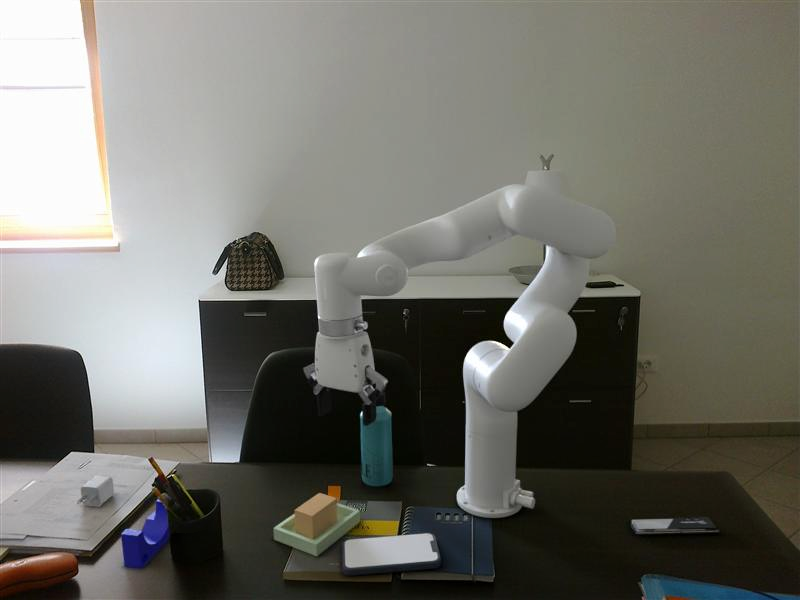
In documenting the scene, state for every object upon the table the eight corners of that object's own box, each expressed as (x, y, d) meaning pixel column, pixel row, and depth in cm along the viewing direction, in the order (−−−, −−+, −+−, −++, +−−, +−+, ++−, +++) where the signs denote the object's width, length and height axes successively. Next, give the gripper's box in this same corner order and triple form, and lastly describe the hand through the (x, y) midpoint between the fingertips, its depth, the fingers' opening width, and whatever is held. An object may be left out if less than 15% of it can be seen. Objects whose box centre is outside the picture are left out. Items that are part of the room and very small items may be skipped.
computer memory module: (636, 531, 118) (628, 518, 122) (636, 536, 118) (628, 523, 122) (720, 529, 119) (709, 516, 122) (719, 534, 119) (709, 521, 123)
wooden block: (337, 520, 123) (337, 498, 122) (313, 539, 117) (312, 516, 116) (320, 514, 125) (319, 492, 124) (295, 532, 119) (294, 509, 118)
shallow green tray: (360, 521, 124) (360, 510, 124) (316, 556, 114) (316, 544, 113) (319, 507, 129) (318, 496, 129) (273, 539, 119) (273, 528, 118)
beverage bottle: (399, 483, 138) (398, 390, 134) (381, 497, 133) (379, 401, 128) (373, 475, 141) (371, 384, 137) (354, 488, 136) (351, 394, 132)
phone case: (343, 579, 108) (442, 570, 110) (342, 570, 108) (442, 561, 109) (342, 547, 117) (434, 539, 118) (341, 538, 116) (434, 531, 118)
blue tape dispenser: (155, 526, 123) (152, 496, 122) (178, 528, 122) (175, 498, 121) (116, 565, 112) (112, 532, 110) (141, 568, 111) (137, 535, 110)
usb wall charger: (114, 495, 134) (112, 477, 133) (93, 514, 128) (90, 494, 127) (96, 493, 135) (93, 475, 134) (73, 512, 128) (71, 492, 127)
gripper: (395, 325, 115) (399, 418, 119) (314, 315, 124) (321, 402, 128) (370, 336, 109) (376, 435, 113) (287, 325, 118) (295, 417, 122)
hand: (347, 418), depth 120 cm, fingers open, 9 cm apart
